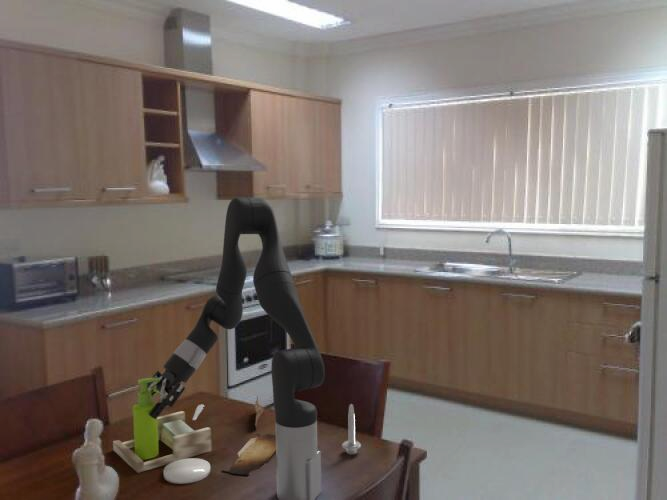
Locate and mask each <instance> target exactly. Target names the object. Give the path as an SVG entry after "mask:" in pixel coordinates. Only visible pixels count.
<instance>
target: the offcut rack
mask: <svg viewBox="0 0 667 500" xmlns="http://www.w3.org/2000/svg"><path fill="white" fill-rule="evenodd" d="M157 422H158V441H160V442H161V443H164V444H165V445H166V446H167V447H169V448H170V449H171V450H172V453H171V454H169V455H165V456H162V457H158V458H153V459H150V460H147V461H145V460H141V459H140V458H139V457H138V456H137V455H136V454H135V452H134V451H133V450H131V449H133V448H135V444H134V438H133V439H130V440H127V441H123V442H122V441H121V440H120V439H117V440H113V441H112V447H113V448H112V449H113V452H114V453H116V454H117V455H118V456H119V457H120V458H121V459H122V460H123V461H124V462H125V463H126V464H127V465H128V466H130V467H131V468H132V469H133V470H134V471H135V472H136V473H137V474H140V473H143V472H145V471H149V470H153V469H155V468H158V467H162V466H167V465H168V464H170V463H172V462H174V461H177V460H181V459H188V458H193V457H196V456H199V455H202V454H205V453H209V452H212V429H211V428H210V427H203V428H200V429H196V430H194V429H193V428H191V426H189V425H188V424H187V423H186V412H185V411H183V410H181V411H180V410H179V411H177V412H173V413H172V412H171V413H169V414H166V415H161V416H160V415H159V416H158V417H157Z"/></svg>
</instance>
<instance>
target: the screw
mask: <svg viewBox="0 0 667 500" xmlns="http://www.w3.org/2000/svg"><path fill="white" fill-rule="evenodd" d="M355 415H356V414H355V407H354V404H352V403H350V404H349V405H348V415H347V416H348V417H347V418H348V419H347V421H348V422H347V423H348V424H347V425H348V426H347V430H348V432H347V434H348V435H347V436H348V437H347V438H348V439H347V440H345V441H344V442H343V443H342V444H341V446H342V448H343V449H345V450H346V451H345V453H347V454H348V455H355V454H357V453H358V449H360V448H361V447H362V444H361V443H360V442H359V441H358V440H356V423H355V422H356V419H355V417H356V416H355Z"/></svg>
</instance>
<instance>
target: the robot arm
mask: <svg viewBox="0 0 667 500" xmlns="http://www.w3.org/2000/svg"><path fill="white" fill-rule="evenodd" d="M225 215H226V216H225V223H224V233H223V235H224V236H223V248H222V259H221V260H222V261H221V265H220V271H219V275H218V277H217V278H218V279H217V281H216V286H215V292H216V295H213V296H211V297H210V298H208V299H207V301H206V302H205V304H204V306H203V309H202V310H201V314H200V316H199V318H198V320H197V322H196V324H195V326H194V328H193V329H192V331H191V332H190V333H189V334H188V335H187V337H186V338H185V339H184V340H183V341H182V342H181V344H179V346H178V347H176V349H175V350H174V352H173V353H172V354H171V356H170V357H168V359H167V361H166V362H164V364H163V369H164V370H165V371H164V372H163V373H162V372H161V371H159V370H157V371H156V372H155V373H154V374H153V375H152V377H151V378H159V379H160V382H148V383H147V384H148V390H149V391H151V399H152V398H153V397H155V396H157V395H160V397H159V399H158V402H156V405H155V406H154V408H153V409H152V410H151V411H150V413H149V415H150V416H151V417H152V418H154V419H156V418H157V417H160V415H161V413H162V412H163V410H164V409H165V408H167V407H169V408H172V407H173V406H175V404H176V402H177V400H178V399H179V398H180V396H182V393H183V392H184V391H185V389H186V387H185V386H184V385H183V384H186V383H188V381H189V380H190V379H191V377H192V376H193V375H194V373H196V371H197V369H198V368H199V367H200V366H201V364H202V363H203V361H204V359H205V358H206V356H207V355H208V354H209V352H210V351H211V349H212V348H213V347H214V345H215V344H216V343H217V341H218V339H219V337H218V335H217V333H216V332H215V331H214V330H213V329H212V328H211V323H212V322H214V323H215V324H217V325H219V326H220V327H222V328H224V329H226V330H233V329H235V328H236V327H237V326H239V324H240V322H241V320H242V318H243V313H244V311H243V307H244V306H243V290H244V286H245V282H246V278H247V273H248V272H247V271H248V270H247V265H246V262H245V259H244V257H243V255H242V253H241V249H240V247H239V239H240V236H241V235H258V236H259V237H260V240H261V245H262V246H261V247H262V249H261V253H260V256H259V259H258V262H257V263H256V266H255V269H254V272H253V277H252V280H253V282H252V283H253V286H254V290H255V293H256V296H257V300H258V303H259V306H260V307H261V309H263V311H264V312H265V313H266V314H267V315H268V316H269V317H270V318H271V319H272V320H273V321H274V322H276V323H277V324H278V325H279V326H280V327H281V328H282V329H283V330H284V331H285V332H286V333H287V334H288V336H289V338H290V339H291V341H292V343H293V345H294V348H288V349H281V350H278V351H276V352H274V354H273V356H272V359H271V365H270V366H271V368H270V369H271V381H272V382H271V383H272V396H273V397H272V399H273V400H272V401H273V408H274V409H273V410H274V415H275V416H274V417H275V422H274V423H275V435H276V451H275V463H276V464H275V466H276V467H275V469H276V478H275V479H276V496H277V499H278V500H316V498H317V497H318V496H319V495H320V494H321V492H322V451H320V450H318V410H317V407H316V406H315V405H314V404H313V403H311V402H309V401H306V400H305V401H304V400H301V399H300V400H299V399H295V392H299V391H304V390H308V389H309V390H310V389H314V388H318V387H321V386H322V385H323V384H324V381H325V377H326V376H325V375H326V372H325V364H324V360H323V357H322V354H321V352H320V350H319V347H318V345H317V341H316V340H315V338H314V335H313V333H312V331H311V329H310V326H309V324H308V321H307V319H306V315H305V313H304V310H303V308H302V307H303V306H302V304H301V302H300V298H299V295H298V290H297V287H296V284H295V281H294V279H293V275H292V272H291V270H290V268H289V267H290V266H289V264H288V262H287V257H286V256H285V252H284V249H283V246H282V241H281V238H280V233H279V229H278V225H277V219H276V215H275V211H274V208H273V206H272V204H271V202H270V201H269V200H268V199H267V198H261V197H234V198H233V199H231V201H229V204H228V206H227V210H226V214H225ZM182 383H183V384H182ZM136 404H138V402H137V403H136Z"/></svg>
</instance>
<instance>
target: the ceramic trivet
mask: <svg viewBox="0 0 667 500" xmlns="http://www.w3.org/2000/svg"><path fill="white" fill-rule="evenodd" d="M210 473H211V464H210V462H208V461H207V460H206V459H203V458H198V457H194V458H193V457H189V458H186V459H181V460H177V461H174V462H172V463H169V464H166V465H165V467H164V468H163V478H164V480H165V481H167V482H168V483H172V484H176V485H177V484H179V485H180V484H181V485H182V484H183V485H185V484H192V483H197V482H199V481H202V480H203V479H205V478H207V477H208V476H209V475H210Z"/></svg>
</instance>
